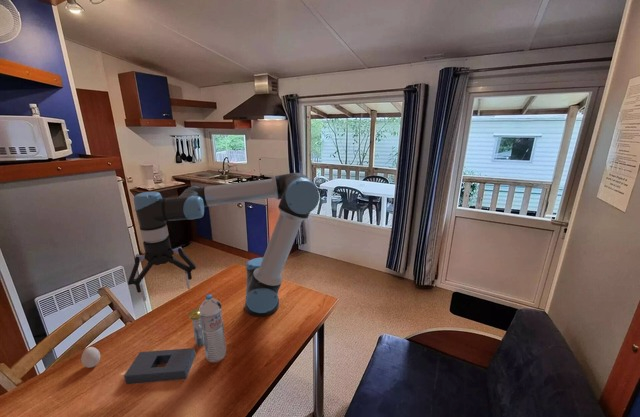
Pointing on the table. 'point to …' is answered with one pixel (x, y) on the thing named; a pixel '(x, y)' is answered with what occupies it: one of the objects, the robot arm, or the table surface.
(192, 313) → the pin
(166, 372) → the grey block with hole
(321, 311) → the table surface
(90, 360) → the egg
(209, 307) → the water bottle
